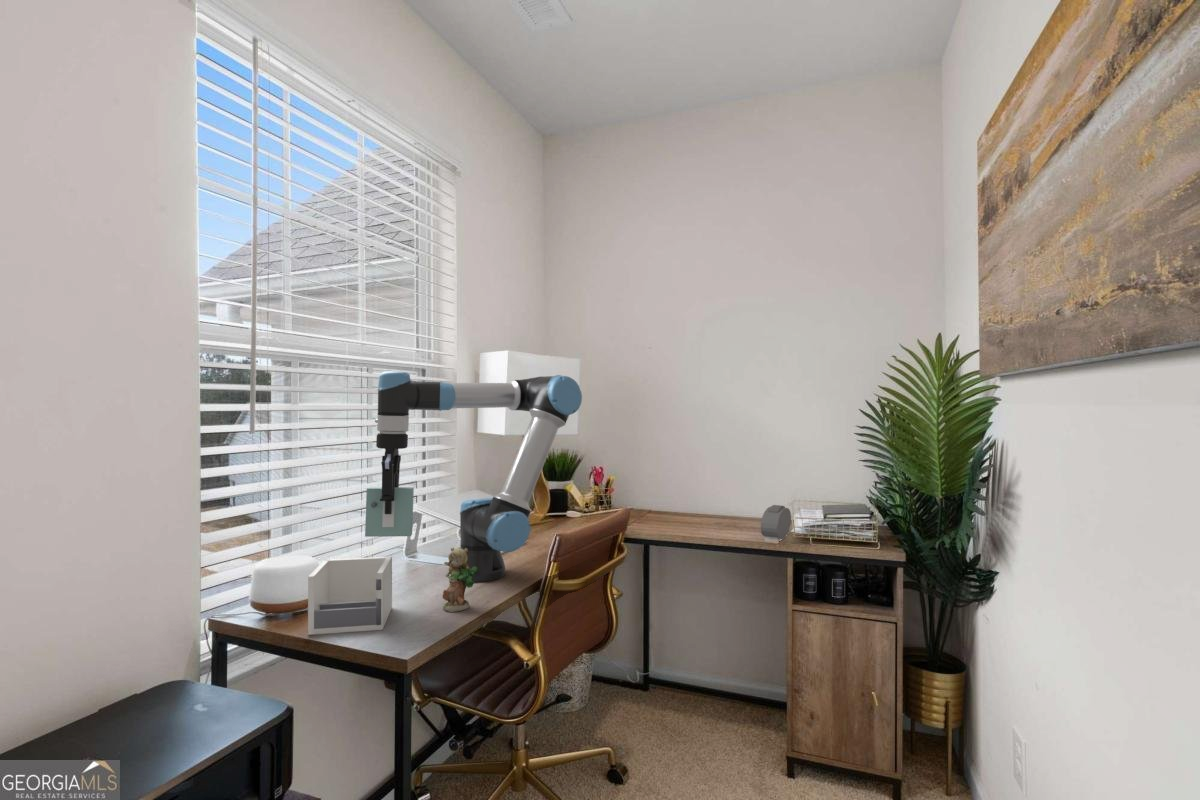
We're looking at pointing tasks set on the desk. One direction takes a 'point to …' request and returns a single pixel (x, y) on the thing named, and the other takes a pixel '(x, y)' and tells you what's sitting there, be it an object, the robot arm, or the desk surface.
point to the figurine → (458, 580)
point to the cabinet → (349, 595)
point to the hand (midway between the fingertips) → (389, 525)
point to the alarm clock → (775, 523)
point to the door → (401, 515)
